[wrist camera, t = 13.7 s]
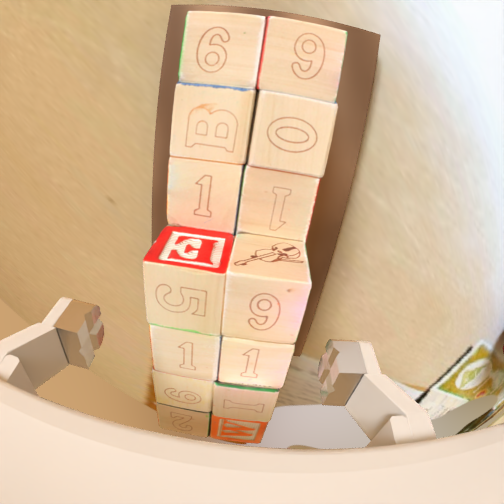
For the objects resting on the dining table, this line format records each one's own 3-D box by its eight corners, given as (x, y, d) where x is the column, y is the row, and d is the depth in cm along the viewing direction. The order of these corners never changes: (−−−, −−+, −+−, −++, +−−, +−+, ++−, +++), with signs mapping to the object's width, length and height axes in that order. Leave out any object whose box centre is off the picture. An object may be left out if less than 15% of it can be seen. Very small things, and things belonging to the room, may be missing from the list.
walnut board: (161, 321, 31) (155, 334, 29) (179, 11, 18) (171, 4, 16) (298, 342, 31) (299, 356, 29) (371, 38, 18) (380, 34, 16)
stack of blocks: (222, 41, 17) (161, -17, 6) (318, 56, 17) (380, 13, 6) (194, 310, 27) (157, 431, 16) (265, 321, 27) (259, 448, 17)
